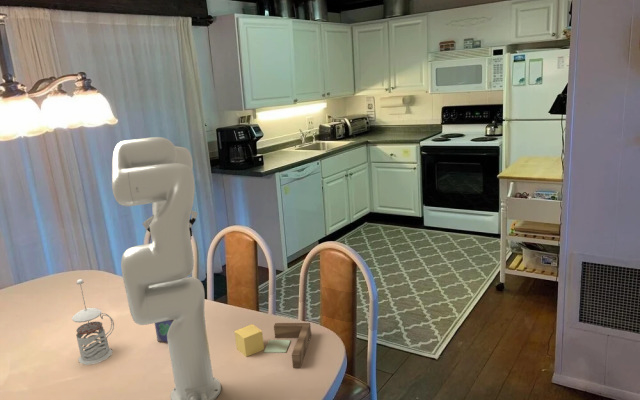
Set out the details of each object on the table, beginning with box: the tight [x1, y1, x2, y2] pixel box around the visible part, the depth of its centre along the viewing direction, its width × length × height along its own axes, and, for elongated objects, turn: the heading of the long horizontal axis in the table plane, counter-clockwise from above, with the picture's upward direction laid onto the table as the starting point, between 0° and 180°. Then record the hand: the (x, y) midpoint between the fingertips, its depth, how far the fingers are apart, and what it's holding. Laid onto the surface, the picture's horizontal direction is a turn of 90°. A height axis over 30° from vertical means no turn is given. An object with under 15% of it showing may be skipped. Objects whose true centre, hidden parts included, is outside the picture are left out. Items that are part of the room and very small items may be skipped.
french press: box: [71, 278, 115, 366], centre depth 146 cm, size 10×12×25 cm
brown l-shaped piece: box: [263, 322, 312, 369], centre depth 142 cm, size 18×12×4 cm
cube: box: [234, 323, 265, 358], centre depth 144 cm, size 6×6×6 cm
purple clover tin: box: [154, 320, 174, 345], centre depth 152 cm, size 9×3×11 cm, turn 65°
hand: (174, 242), depth 157 cm, fingers open, 9 cm apart
